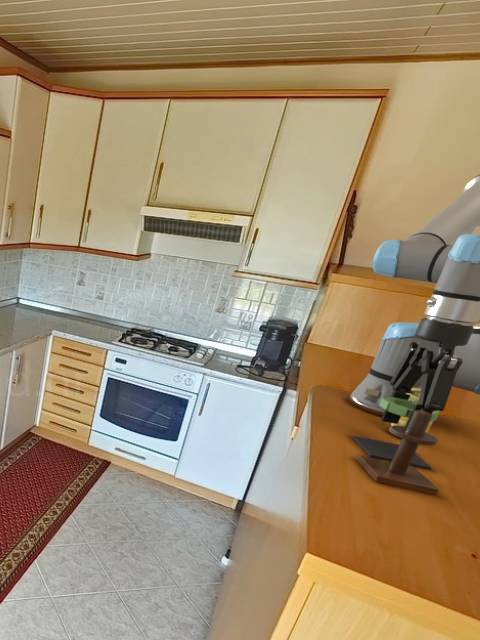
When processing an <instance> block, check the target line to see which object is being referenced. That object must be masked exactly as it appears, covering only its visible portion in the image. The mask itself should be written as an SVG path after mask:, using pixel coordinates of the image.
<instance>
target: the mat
mask: <svg viewBox="0 0 480 640" xmlns="http://www.w3.org/2000/svg"><path fill="white" fill-rule="evenodd" d="M352 439H353V440H354V441H355V442H356V443H357V444H358V445H359V447H360V448H362V450H364V452H366V454H367V455H368V457H371V458H376V459H380V460H385V461H390V462H392V460H393V458H394V455H395V453H396V451H397V449H398V447H399V444H397V443H392V442H387V441H383V440H382V441H381V440H376V439H372V438H368V437H364V436H363V437H362V436H357V435H352ZM409 466H413V467H415V468H421V469H425V470H430V471H431V470H432V466H430V465H429V464H428V463H427V462H426V461H425V460H423V458H422V457H420V456H419V455H418V454H417V453H415V454H414V456H413V458H412V460H411V462H410V464H409Z"/></svg>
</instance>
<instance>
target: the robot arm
mask: <svg viewBox="0 0 480 640" xmlns="http://www.w3.org/2000/svg"><path fill="white" fill-rule="evenodd" d="M479 227H480V173H479V174H477V175H476V176H474V178H472V179H471V180H470V181H469V182H467V184H466V185H465V186H464V188H463V190H462V193H461V194H460V195H459V196H458V197H457V198H456V199H454V200H452V202H451V203H449V204H448V205H447V206H446V207H444V208H443V209H442V210H441V211H440V212H438V213H437V214H436V215H434V216H433V217H432V218H431V219H430V220H428V221H427V222H426V223H425V224H424V225H422V226H421V227H420V228H419V229H418V230H416V231H415V232H414V233H413V234H412V235H410V236H409V237H408V238H406V239H405V240H402V239H389V240H385V241H384V242H382V243H381V244H380V245H379V247H378V248H377V250H376V251H375V254H374V256H373V260H372V269H373V272H374V273H375V274H377V275H381V276H386V277H391V278H393V279H395V278H396V279H402V280H403V279H404V280H410V281H419V282H426V283H432V284H433V283H434V284H435V287H434V289H433V292H432V294H431V296H430V298H429V299H427V300H426V305H427V306H426V308H425V310H424V313H423V314H424V315H425V316H426V317H423V318H421V319H420V321H419V322H407V321H405V322H404V321H400V322H399V321H398V322H394V323H391V324H390V325H389V326H388V327H387V329H386V331H385V333H384V335H383V337H382V338H381V342H380V343H379V346H378V349H377V352H376V353H375V357H374V359H373V362H372V364H371V366H370V369H369V371H368V373H367V375H366V376H365V378H364V379H363V380H362V381H361V382H360V383H359V384H358V385H357V387H356V388H355V389H354V390H353V391H352V392H351V393H350V396H349V398H348V402H349V403H350V404H351V405H352V406H354V407H356V408H358V409H361V410H363V411H365V412H368V413H371V414H374V415H376V416H380V417H381V418H380V421H382V422H384V423H390V424H391V423H394V424H398V422H399V420H400V418H401V416H400V415H397V414H394V413H391V412H388V411H387V410H385V409H383V408H382V407H381V406H379V405H380V403H381V400H382V398H386V397H394V398H400V399H405V400H409V398H410V395H409V394H413V393H412V388H413V386H414V385H415V384H416V383H417V381H418V380H419V379H420V378H421V376H422V375H423V374H424V377H423V382H422V388H421V393H420V399H419V404H414V405H413V406H414V408H413V410H412V413H411V415H410V417H409V419H408V421H407V423H406V425H405V427H408V425H409V423H410V420H411V418H412V416H413V414H414V412H415V410H420V411H425V412H428V413H430V414H432V412H433V411H439V412H444V410H445V408H446V406H447V403H448V399H449V397H450V394H451V391H452V388H453V387H454V388H456V389H461V390H464V391H468V392H470V393H471V392H472V393H474V394H475V395H480V322H479V321H480V234H479V233H478V234H477V233H474V232H475V231H476V230H477V229H479ZM478 322H479V323H478ZM453 355H456V356H459V357H460V359H459V358H455V357H453ZM407 393H409V394H407ZM438 403H439V404H438Z"/></svg>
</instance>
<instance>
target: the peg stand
mask: <svg viewBox="0 0 480 640" xmlns="http://www.w3.org/2000/svg"><path fill="white" fill-rule="evenodd" d="M432 416H433V415H432V414H430V413H428V412H425V411H420V410H415V412H414V414H413V416H412V418H411V420H410V423H409V425H408V427H405V426H392V427H391V426H390V427H391V430H390V432H391V433H390V432H389V433H390V434H392V435H393V434H394V435H393V436H395V437H397V438H399V437H400V439H401V440H400V441H399V444H398V445H399V447H398V449H397V451H396V453H395V455H394V458H393V460H392V461H387V460H383V459H378V458H373V457H370V456H366V455H361V454H358V456H357V459H356V461H357V462H358V463H359V465H360V466H361V467H362V468H363V469H364V470H365V472H367V474H368V475H369V476H370V477H371V478H372V480H373V481H374V482H375V483H379V484H383V485H388V486H393V487H398V488H401V489H406V490H410V491H415V492H418V493H423V494H428V495H434V496H437V494H438V492H439V491H440V489H439V488H437V486H436V485H434V483H432V481H430V480H429V479H428V478H427V477H426V476H425V475H424V474H423V473H421V472H420V470H418V469H417V467H415V466H411V465H409V464H410V462H411V460H412V458H413V456H414V454H416V452H417V450H418V448H419V445H423V446H436V445H437V443H438V440H439V439H438V438H437V437H436V436H434V435H433V434H431V433H428V432H427V433H426V432H425V431H426V428H427V426H428V424H429V422H430V420H431V418H432Z"/></svg>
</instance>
